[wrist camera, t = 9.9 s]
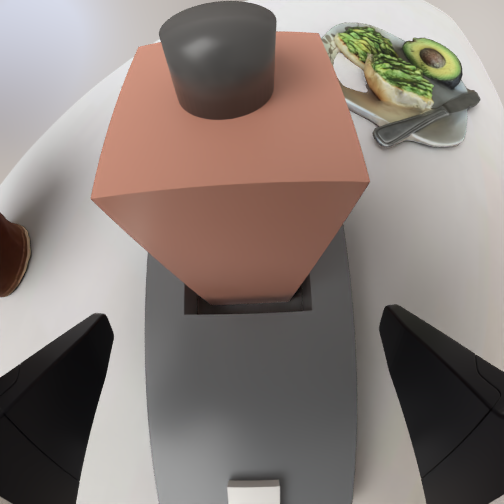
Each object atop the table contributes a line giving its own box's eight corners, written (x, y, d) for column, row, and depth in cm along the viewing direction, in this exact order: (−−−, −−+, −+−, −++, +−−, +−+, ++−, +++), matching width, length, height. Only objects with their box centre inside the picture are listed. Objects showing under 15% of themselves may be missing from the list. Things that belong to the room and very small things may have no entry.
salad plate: (457, 213, 19) (491, 186, 14) (262, 102, 22) (262, 58, 17) (473, 95, 23) (490, 70, 19) (344, 24, 26) (350, -5, 22)
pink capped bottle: (288, 301, 17) (408, 117, 3) (211, 305, 17) (40, 147, 3) (283, 229, 18) (325, -17, 4) (210, 232, 18) (123, 0, 4)
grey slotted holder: (336, 507, 12) (352, 536, 9) (177, 510, 12) (161, 540, 9) (320, 176, 19) (332, 141, 15) (171, 182, 19) (155, 149, 15)
